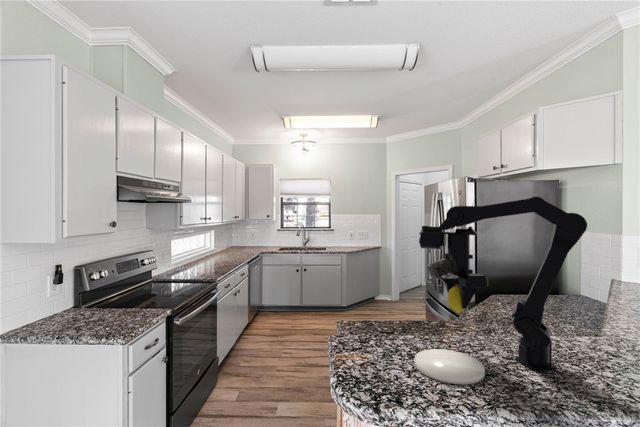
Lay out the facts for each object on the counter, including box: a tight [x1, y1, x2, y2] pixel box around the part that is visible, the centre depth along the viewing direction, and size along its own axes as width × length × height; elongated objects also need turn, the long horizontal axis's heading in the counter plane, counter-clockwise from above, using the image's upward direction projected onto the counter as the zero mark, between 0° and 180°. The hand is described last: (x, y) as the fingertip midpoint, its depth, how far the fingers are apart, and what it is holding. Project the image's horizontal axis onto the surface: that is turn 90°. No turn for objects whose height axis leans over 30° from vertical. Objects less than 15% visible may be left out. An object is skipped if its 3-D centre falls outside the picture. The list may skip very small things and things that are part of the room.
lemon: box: [447, 286, 466, 314], centre depth 92 cm, size 6×6×8 cm
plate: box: [414, 348, 486, 385], centre depth 80 cm, size 16×16×1 cm
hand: (458, 305), depth 92 cm, fingers closed on lemon, 5 cm apart
